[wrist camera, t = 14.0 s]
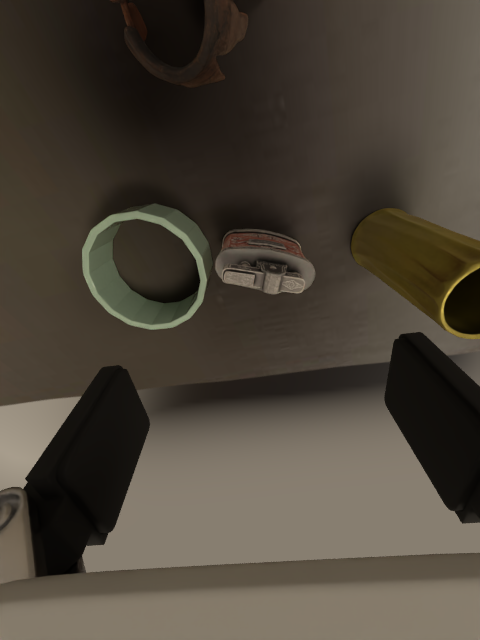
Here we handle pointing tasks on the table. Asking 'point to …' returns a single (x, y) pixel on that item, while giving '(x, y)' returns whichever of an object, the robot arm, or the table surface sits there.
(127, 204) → the table surface
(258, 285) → the lighter
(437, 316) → the vase
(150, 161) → the table surface
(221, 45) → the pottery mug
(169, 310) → the pale green hollow ring
